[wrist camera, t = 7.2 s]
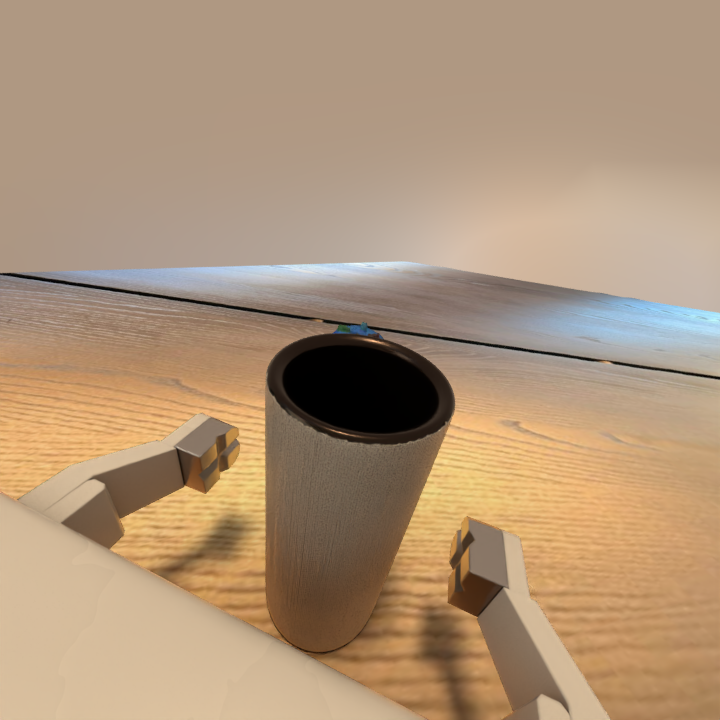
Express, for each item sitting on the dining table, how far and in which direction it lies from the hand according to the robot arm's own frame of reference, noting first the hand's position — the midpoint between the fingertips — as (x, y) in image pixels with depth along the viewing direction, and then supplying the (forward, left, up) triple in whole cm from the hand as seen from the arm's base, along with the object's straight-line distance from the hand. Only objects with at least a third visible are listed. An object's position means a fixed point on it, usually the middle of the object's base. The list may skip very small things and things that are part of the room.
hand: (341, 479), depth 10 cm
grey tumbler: (-1, 0, -6) cm, 6 cm away
